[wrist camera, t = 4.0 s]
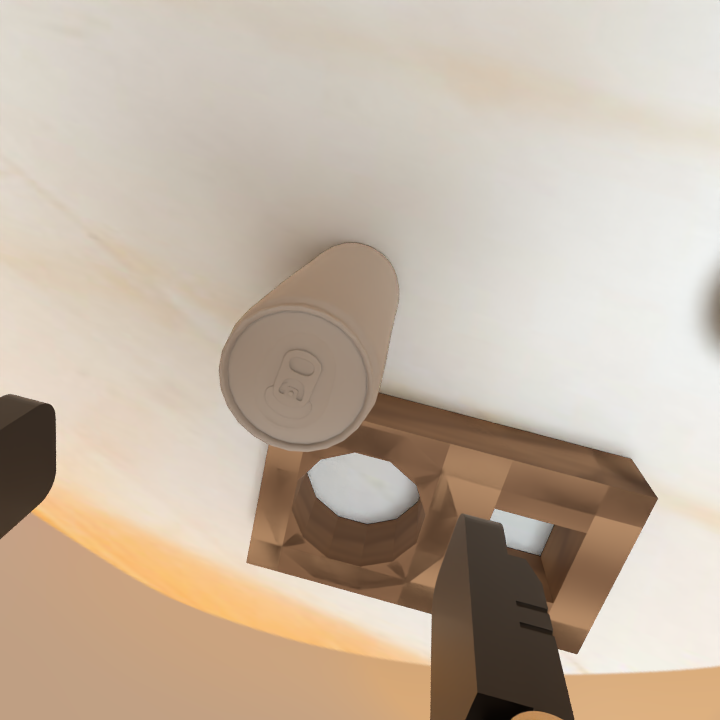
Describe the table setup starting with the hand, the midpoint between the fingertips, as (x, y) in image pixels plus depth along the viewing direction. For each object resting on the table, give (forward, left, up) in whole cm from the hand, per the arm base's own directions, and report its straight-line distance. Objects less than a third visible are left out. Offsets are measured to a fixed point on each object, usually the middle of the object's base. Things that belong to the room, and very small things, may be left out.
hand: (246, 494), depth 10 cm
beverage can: (0, 0, -18) cm, 18 cm away
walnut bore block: (+10, +7, -17) cm, 21 cm away
